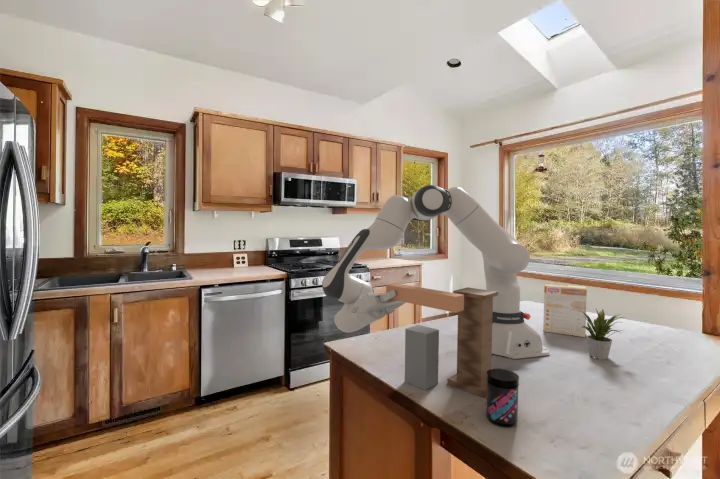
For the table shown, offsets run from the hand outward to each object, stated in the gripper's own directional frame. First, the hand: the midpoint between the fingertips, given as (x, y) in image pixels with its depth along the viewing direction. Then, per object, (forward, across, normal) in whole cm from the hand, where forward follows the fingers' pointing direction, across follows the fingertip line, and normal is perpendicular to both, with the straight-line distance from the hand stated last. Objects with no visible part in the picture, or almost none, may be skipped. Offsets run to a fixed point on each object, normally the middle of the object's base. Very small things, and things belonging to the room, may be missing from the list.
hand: (401, 291), depth 102 cm
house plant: (+21, +59, +40) cm, 75 cm away
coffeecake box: (+6, +82, +32) cm, 88 cm away
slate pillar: (-6, 0, +25) cm, 26 cm away
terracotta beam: (+5, 0, +6) cm, 8 cm away
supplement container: (+15, -2, +37) cm, 40 cm away
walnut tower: (+4, +9, +30) cm, 32 cm away
